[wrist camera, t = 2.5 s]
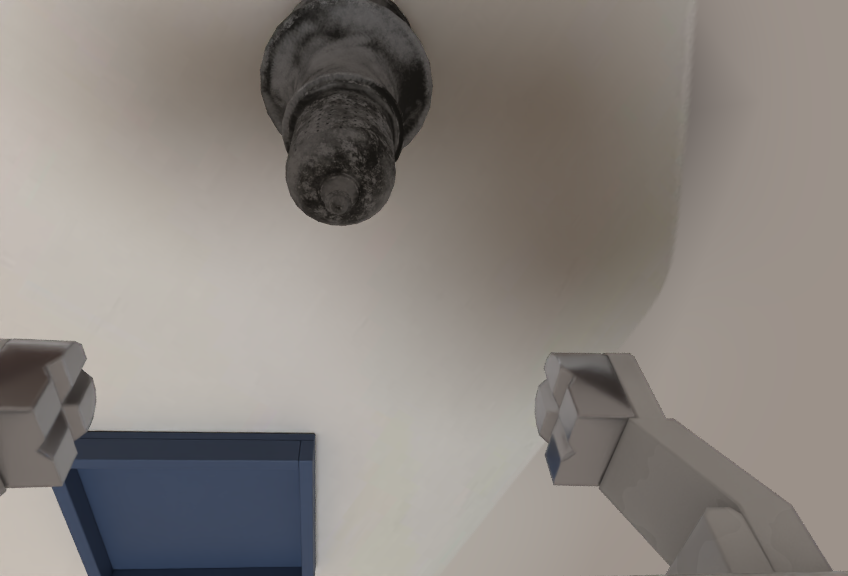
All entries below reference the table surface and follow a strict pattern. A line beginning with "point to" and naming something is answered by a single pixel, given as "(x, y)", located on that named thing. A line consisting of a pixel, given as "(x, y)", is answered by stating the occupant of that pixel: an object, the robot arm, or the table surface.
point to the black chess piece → (345, 103)
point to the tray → (192, 504)
